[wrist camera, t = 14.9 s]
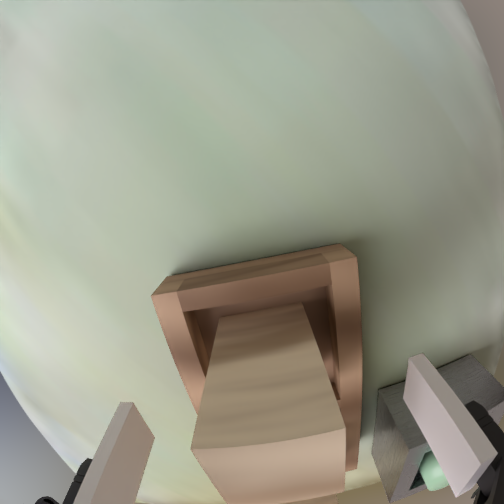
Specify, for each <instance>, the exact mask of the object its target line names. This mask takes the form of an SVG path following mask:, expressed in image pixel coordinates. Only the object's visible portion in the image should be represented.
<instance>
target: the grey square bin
mask: <svg viewBox="0 0 504 504" xmlns="http://www.w3.org/2000/svg"><path fill="white" fill-rule="evenodd" d="M436 370H437V371H438V372H439V374H440V375H441V376H442V377H443V379H444V380H445V381H446V382H447V384H448V385H449V386H450V388H451V389H452V390H453V392H454V393H455V394H456V395H457V397H458V398H459V399H460V401H461V402H462V403H463V405H465V404H467V403H469V402H471V401H473V400H474V401H476V402H477V403H479V404H481V405H483V407H484V408H485V409H486V410H487V412H488V413H489V415H490V416H491V417H492V418H493V419H494V422H496V423H497V425H498V424H499V422H500V420H501V418H502V416H503V414H504V387H503V386H502V385H501V384H500V383H499V382H498V381H497V380H496V379H495V378H494V377H493V376H492V375H491V374H490V373H489V372H488V371H487V370H486V369H485V368H484V367H483V366H482V365H481V364H480V363H479V362H478V361H477V360H476V359H475V358H474V357H473V356H472V355H471V354H470V355H468V356H466V357H464V358H461V359H459V360H457V361H455V362H452V363H450V364H448V365H446V366H443V367H441V368H438V369H436ZM405 383H406V381H404V382H401V383H398V384H395V385H392V386H389V387H386V388H383V389H380V390H378V403H377V413H376V423H375V431H374V439H373V446H372V456H373V459H374V461H375V464H376V467H377V470H378V472H379V475H380V478H381V481H382V483H383V486H384V489H385V492H386V495H387V497H388V501H389V503H391V502H394V501H397V500H400V499H402V498H405V497H407V496H410V495H412V494H415V493H417V492H420V491H422V490H424V489H426V488H427V486H426V484H425V482H424V479H423V477H422V475H421V473H420V471H419V466H420V464H421V461H422V459H423V457H424V454H425V453H427V452H429V451H431V448H430V446H429V444H428V442H427V440H426V439H425V437H424V435H423V433H422V431H421V429H420V428H419V426H418V424H417V422H416V420H415V419H414V417H413V415H412V413H411V412H410V410H409V408H408V406H407V405H406V403H405V401H404V399H403V395H404V389H405Z"/></svg>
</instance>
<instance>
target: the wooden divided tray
mask: <svg viewBox="0 0 504 504" xmlns="http://www.w3.org/2000/svg"><path fill="white" fill-rule="evenodd" d="M151 298H152V301H153V304H154V307H155V310H156V313H157V315H158V318H159V321H160V324H161V327H162V330H163V332H164V335H165V338H166V341H167V343H168V346H169V349H170V351H171V354H172V356H173V359H174V361H175V364H176V366H177V369H178V371H179V374H180V376H181V379H182V381H183V383H184V386H185V388H186V390H187V393H188V395H189V397H190V399H191V402H192V404H193V406H194V408H195V410H196V413H197V415H198V412H199V407H200V402H201V398H202V393H203V389H204V384H205V380H206V375H207V371H208V366H209V362H210V358H211V353H212V349H213V344H214V340H215V336H216V331H217V327H218V323H219V318H220V317H225V316H231V315H236V314H242V313H247V312H253V311H258V310H263V309H269V308H274V307H279V306H284V305H289V304H294V303H298V302H302V304H303V307H304V310H305V312H306V315H307V318H308V321H309V323H310V326H311V329H312V332H313V334H314V337H315V340H316V343H317V346H318V348H319V351H320V354H321V357H322V360H323V362H324V365H325V368H326V371H327V374H328V377H329V380H330V383H331V386H332V388H333V391H334V394H335V397H336V400H337V403H338V406H339V409H340V412H341V415H342V418H343V421H344V424H345V427H346V460H345V472H347V471H350V470H354V469H357V463H358V453H359V441H360V427H361V408H362V323H361V303H360V287H359V275H358V263H357V257H356V256H355V255H354V254H353V253H351V252H350V251H349V250H348V249H346V248H345V247H344V246H343V245H341V244H340V243H339V244H334V245H329V246H324V247H319V248H314V249H309V250H304V251H298V252H293V253H288V254H283V255H278V256H273V257H268V258H262V259H257V260H252V261H247V262H242V263H236V264H231V265H226V266H221V267H215V268H210V269H205V270H200V271H194V272H189V273H184V274H178V275H173V276H167V277H166V278H165V279H164V281H163V282H162V283H161V284H160V285H159V287H158V288H157V289H156V290H155V292H154V293H153V294H152V295H151Z"/></svg>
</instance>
